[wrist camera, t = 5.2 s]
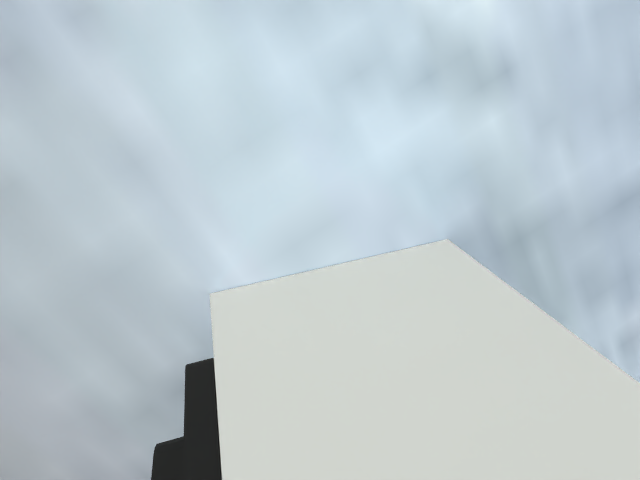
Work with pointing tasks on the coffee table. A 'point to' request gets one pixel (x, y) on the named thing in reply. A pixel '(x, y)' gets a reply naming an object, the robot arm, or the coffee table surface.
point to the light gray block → (412, 379)
